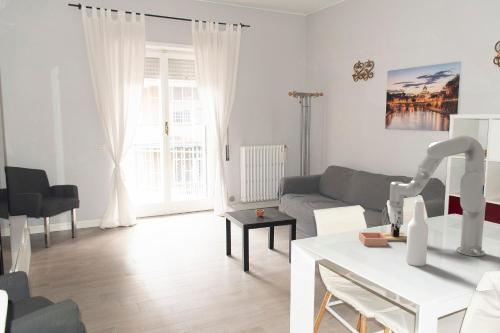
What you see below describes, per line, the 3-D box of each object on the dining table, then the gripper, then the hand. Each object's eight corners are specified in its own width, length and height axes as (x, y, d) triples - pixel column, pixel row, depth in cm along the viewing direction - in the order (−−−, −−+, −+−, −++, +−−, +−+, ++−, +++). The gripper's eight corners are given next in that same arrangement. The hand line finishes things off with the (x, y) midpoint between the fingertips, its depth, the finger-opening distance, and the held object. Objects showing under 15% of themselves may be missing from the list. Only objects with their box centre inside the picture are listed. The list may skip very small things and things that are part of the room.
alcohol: (409, 258, 193) (412, 198, 190) (428, 263, 188) (432, 200, 184) (403, 263, 186) (406, 200, 183) (422, 268, 181) (426, 203, 177)
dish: (387, 247, 211) (387, 238, 210) (364, 246, 211) (364, 238, 211) (380, 240, 223) (380, 232, 222) (358, 240, 223) (359, 232, 223)
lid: (411, 241, 218) (412, 231, 218) (386, 241, 219) (386, 230, 218) (403, 234, 232) (403, 224, 232) (378, 234, 233) (379, 224, 232)
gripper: (408, 207, 215) (406, 240, 217) (398, 200, 231) (396, 231, 233) (394, 206, 215) (393, 239, 217) (385, 200, 232) (383, 231, 234)
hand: (394, 235), depth 225 cm, fingers closed on lid, 3 cm apart
